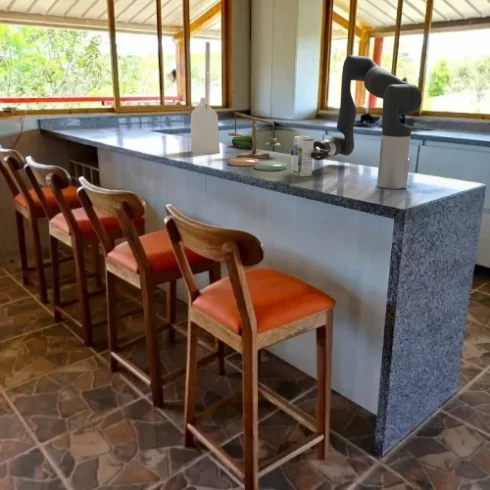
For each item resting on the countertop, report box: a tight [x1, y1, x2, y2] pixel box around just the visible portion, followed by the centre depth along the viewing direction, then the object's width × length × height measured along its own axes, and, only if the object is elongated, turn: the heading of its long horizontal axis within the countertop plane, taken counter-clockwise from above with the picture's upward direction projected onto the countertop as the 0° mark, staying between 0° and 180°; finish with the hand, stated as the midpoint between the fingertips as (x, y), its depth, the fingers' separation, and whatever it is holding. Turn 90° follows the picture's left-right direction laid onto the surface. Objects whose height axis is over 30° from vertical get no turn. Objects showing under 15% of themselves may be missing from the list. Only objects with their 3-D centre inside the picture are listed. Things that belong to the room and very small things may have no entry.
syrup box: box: [292, 135, 315, 177], centre depth 180 cm, size 6×6×14 cm
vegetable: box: [231, 134, 258, 150], centre depth 255 cm, size 7×7×20 cm
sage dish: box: [254, 161, 288, 172], centre depth 196 cm, size 13×13×2 cm
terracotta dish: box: [228, 157, 260, 167], centre depth 205 cm, size 13×13×2 cm
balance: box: [227, 111, 281, 159], centre depth 220 cm, size 24×7×20 cm, turn 91°
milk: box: [190, 97, 221, 155], centre depth 233 cm, size 12×12×26 cm
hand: (302, 154), depth 179 cm, fingers open, 8 cm apart
